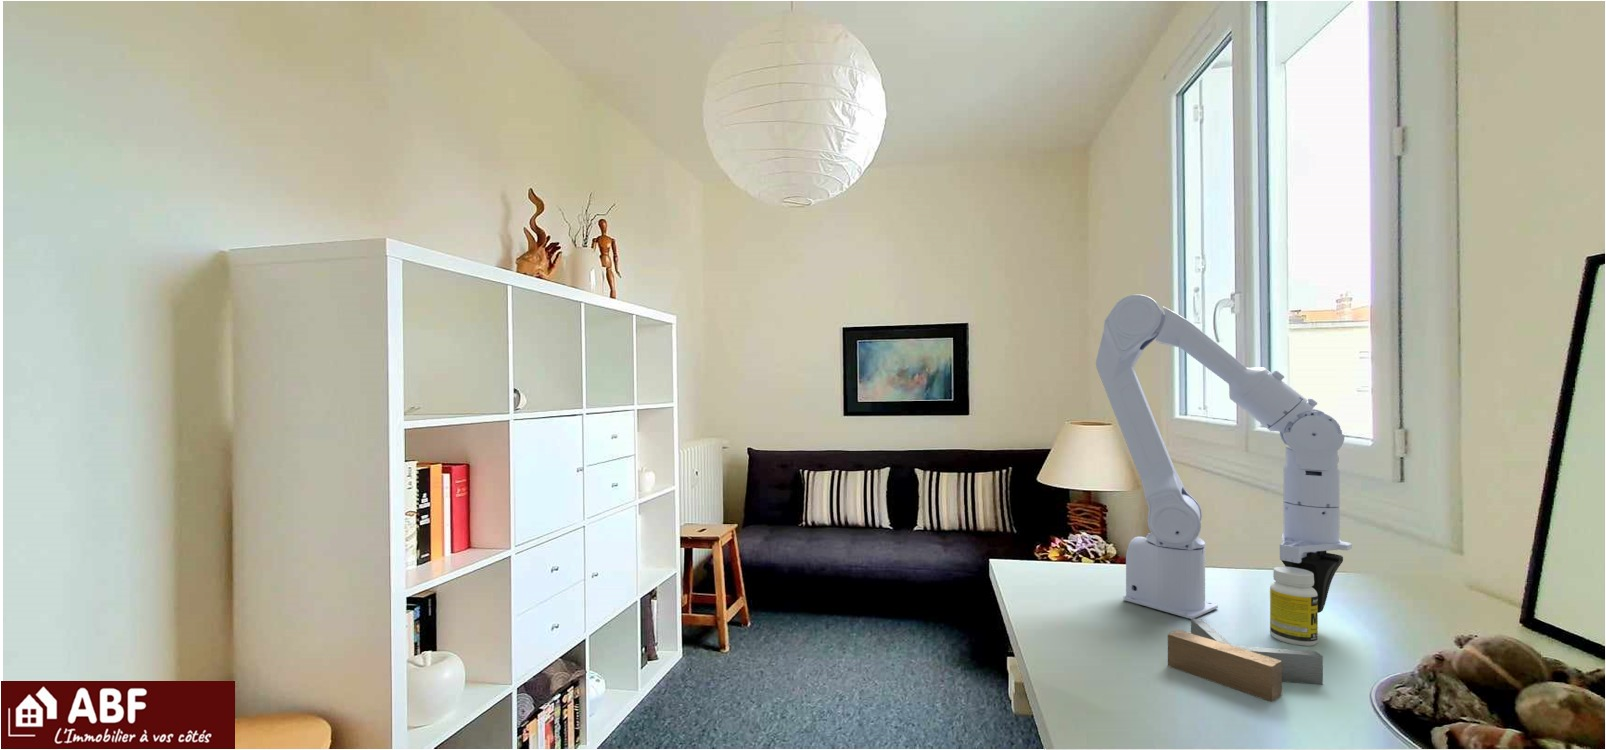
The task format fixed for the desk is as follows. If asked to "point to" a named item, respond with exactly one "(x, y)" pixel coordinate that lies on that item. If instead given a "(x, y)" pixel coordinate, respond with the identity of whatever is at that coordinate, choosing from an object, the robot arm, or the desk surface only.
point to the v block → (1241, 662)
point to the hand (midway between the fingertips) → (1311, 609)
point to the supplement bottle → (1294, 606)
